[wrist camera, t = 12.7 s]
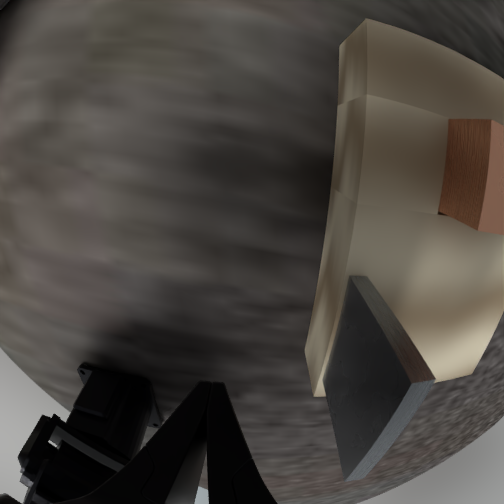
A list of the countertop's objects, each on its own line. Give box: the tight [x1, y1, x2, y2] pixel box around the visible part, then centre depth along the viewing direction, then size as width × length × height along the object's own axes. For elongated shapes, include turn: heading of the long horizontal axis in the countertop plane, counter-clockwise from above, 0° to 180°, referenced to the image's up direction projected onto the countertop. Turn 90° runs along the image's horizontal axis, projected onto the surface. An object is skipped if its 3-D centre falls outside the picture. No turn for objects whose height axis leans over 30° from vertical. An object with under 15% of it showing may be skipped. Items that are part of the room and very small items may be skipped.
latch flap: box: [322, 276, 436, 482], centre depth 9 cm, size 6×6×1 cm
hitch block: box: [305, 18, 504, 397], centre depth 13 cm, size 18×12×4 cm, turn 177°
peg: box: [438, 119, 504, 235], centre depth 10 cm, size 4×4×7 cm
